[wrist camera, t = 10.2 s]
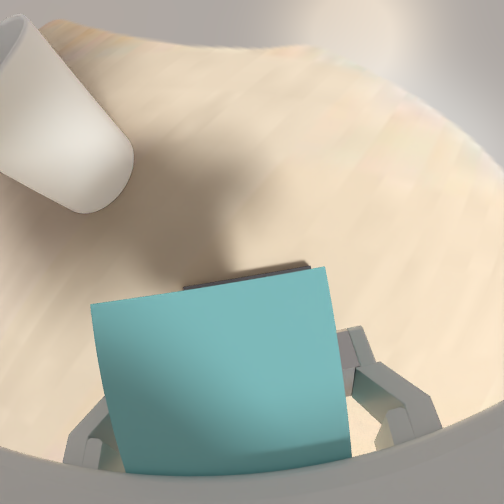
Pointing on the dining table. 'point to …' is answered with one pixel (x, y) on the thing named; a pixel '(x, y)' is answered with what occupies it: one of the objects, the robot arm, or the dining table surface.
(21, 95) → the cup
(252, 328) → the teal rectangular block
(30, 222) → the dining table surface
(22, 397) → the dining table surface
